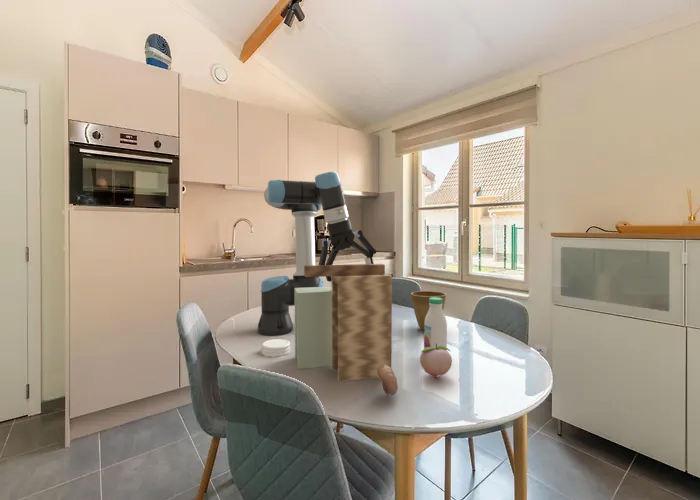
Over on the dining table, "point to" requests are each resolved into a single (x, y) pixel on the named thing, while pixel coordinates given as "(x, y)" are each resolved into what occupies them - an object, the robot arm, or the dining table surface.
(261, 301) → the robot arm
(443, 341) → the milk bottle
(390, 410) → the dining table surface
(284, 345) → the coaster
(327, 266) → the wooden square beam
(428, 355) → the decorative fruit
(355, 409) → the dining table surface
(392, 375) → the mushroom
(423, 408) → the dining table surface
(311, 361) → the sage green rectangular block
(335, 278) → the brown wooden tall box
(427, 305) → the plant pot
